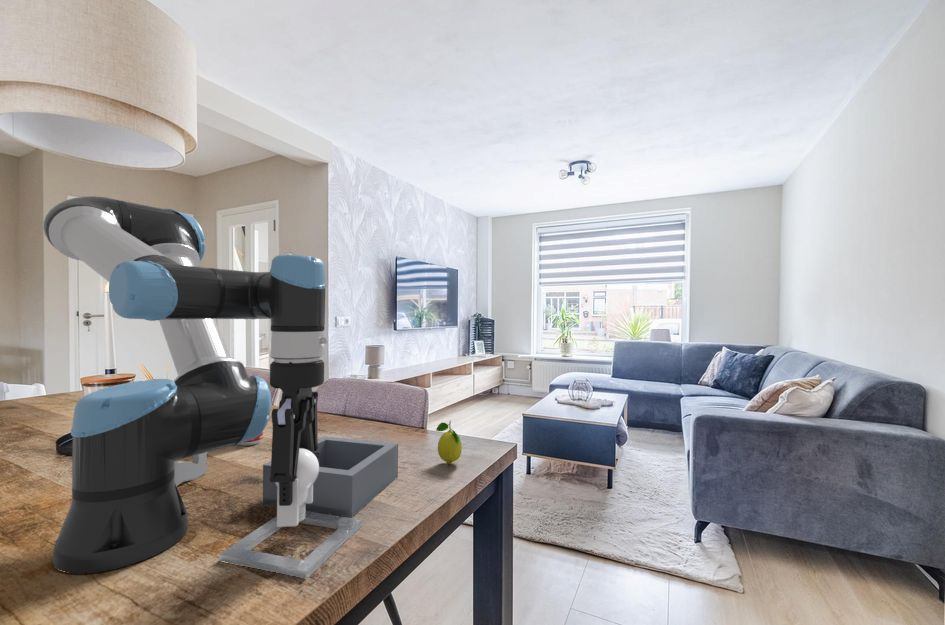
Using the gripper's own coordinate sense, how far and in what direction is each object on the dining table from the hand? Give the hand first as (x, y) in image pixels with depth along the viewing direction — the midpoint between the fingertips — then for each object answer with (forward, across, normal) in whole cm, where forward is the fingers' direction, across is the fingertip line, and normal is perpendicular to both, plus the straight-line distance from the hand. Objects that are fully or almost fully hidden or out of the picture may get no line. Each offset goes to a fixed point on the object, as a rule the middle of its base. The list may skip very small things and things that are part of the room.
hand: (296, 512), depth 62 cm
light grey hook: (+5, +25, +29) cm, 38 cm away
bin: (+4, +19, -2) cm, 19 cm away
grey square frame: (+4, 0, 0) cm, 4 cm away
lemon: (+5, +31, -24) cm, 39 cm away
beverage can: (+5, +49, +28) cm, 57 cm away
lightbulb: (+2, 0, 0) cm, 2 cm away
